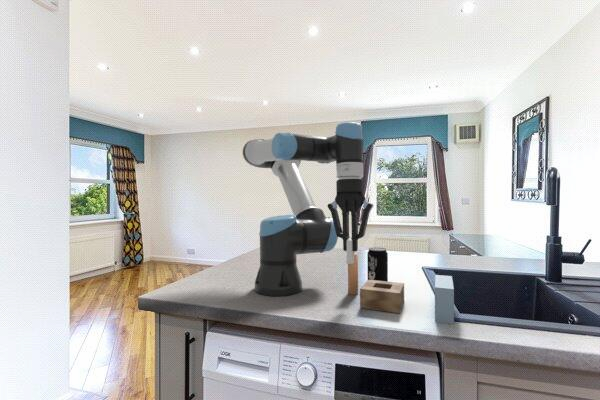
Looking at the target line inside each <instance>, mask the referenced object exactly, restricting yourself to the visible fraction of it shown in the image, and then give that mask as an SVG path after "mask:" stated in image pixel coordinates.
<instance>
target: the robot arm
mask: <svg viewBox="0 0 600 400" xmlns="http://www.w3.org/2000/svg"><path fill="white" fill-rule="evenodd" d="M363 134H364V133H363V126H362V124H360V123H358V122H355V121H354V122H353V121H352V122H351V121H350V122H341V123H338V124H337V125H336V127H335V133H334V135H333V136H328V137H327V136H320V135H319V136H317V135H307V134H305V135H304V134H296V133H290V132H277V133H276V134H274V136H273V137H272V138H268V139H264V138H263V139H262V138H259V139H258V138H257V139H251V140H249V141H246V143H245V144H244V145H243V146H242V147H243V148H242V156H243V159H244V160H245V162H246V163H247V164H249V165H250V166H253V167H255V168H259V169H260V168H261V169H271V171H272V173H273V175H274V176H276V177H277V178H278V179H279V181H280V184H281V186H282V188H283V191H284V193H285V194H284V195H285V196H286V198H287V201H288V204H289V206H290V209H291V211H292V213H293V214H284V215H277V216H270V217H267V218H264V219H262V220H261V222H260V223H259V233H258V234H259V269H258V271H257V275H256V278H255V280H254V291H255V292H256V293H257V294H260V295H262V296H271V297H282V296H290V295H294V294H297V293H300V292H301V291H302V290H303V281H302V277H301V275H300V272H299V267H298V265H297V255H305V254H306V255H307V254H308V255H309V254H317V253H320V254H321V253H322V254H323V253H326V252H330V251H332V250H333V249H334V248H335V246H336V245H337V243H338V239H339V238H340V239H342V242H343V243H342V249H343V252H346V264H347V265H348V264H353V263H354V253H355V252H357V251H358V250H359V246H358V244H359V242H358V241H359V239H362V238H364V237H365V234H366V229H367V226H368V221H369V218H370V213H371V212H372V209H373V208H374V203H372V202H369V201H367V199H366V196H365V195H364V180H363V177H364V135H363ZM302 161H306V162H316V163H318V164H322V165H323V164H330V163H333V162H334V163H335V162H336V163H335V170H336V178H337V180H336V182H335V183H336V184H335V185H336V188H335V190H336V195H335V198H334V200H333V201H332V202H331V203H328V204H327V205H326V206H327V208H328V210H329V211H330V214H331V217H330V216H328V217H326V215H325V213H324V211H323V209H321V208H320V207H317V206H316V203H315V201H314V200H313V197H312V195H311V193H310V191H309V189H308V187H307V184H306V182H305V180H304V178H303V176H302V173H301V171H300V170H299V169H300V168H299V167H300V165H301V162H302ZM362 206H363V209H364V210H363V213H362V215H361V216H362V218H361V221H360V226H359V211H360V209H361V207H362ZM338 207H339V208H340V210H341V216H342V218H341V219H342V224H341V219H340V216H339V211H338ZM350 217H351V218H350ZM350 219H351V237H350Z"/></svg>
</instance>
